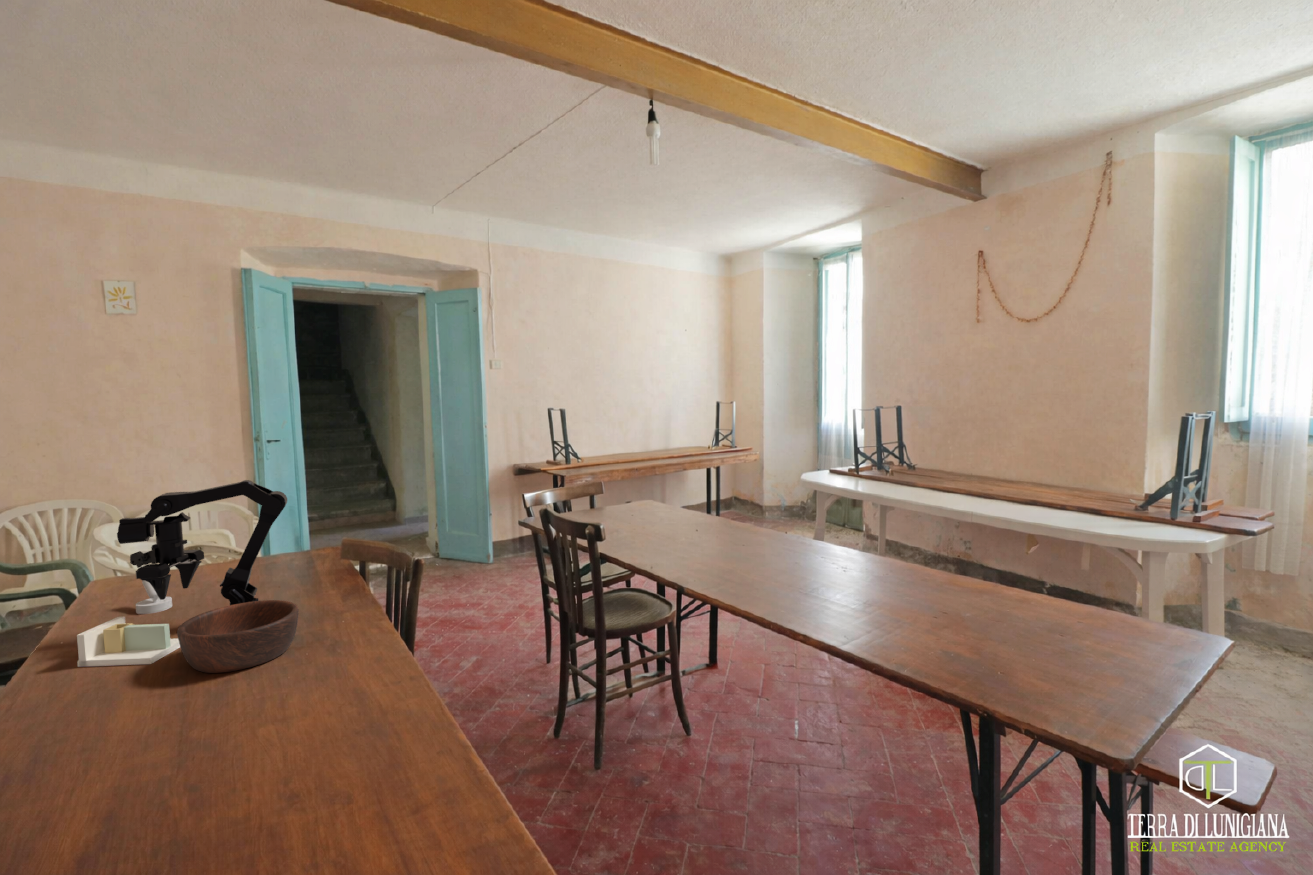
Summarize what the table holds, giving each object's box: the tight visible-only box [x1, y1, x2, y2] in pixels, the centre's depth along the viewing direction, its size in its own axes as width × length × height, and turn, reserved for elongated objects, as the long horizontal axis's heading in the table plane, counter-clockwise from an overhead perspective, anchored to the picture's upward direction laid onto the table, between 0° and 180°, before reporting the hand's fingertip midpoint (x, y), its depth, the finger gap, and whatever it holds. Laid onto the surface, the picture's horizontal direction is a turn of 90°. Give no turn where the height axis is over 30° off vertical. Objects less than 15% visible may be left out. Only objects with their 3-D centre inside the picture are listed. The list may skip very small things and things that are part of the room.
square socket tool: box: [103, 622, 171, 653], centre depth 150 cm, size 14×4×6 cm, turn 94°
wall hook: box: [135, 580, 173, 615], centre depth 183 cm, size 9×10×10 cm
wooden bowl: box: [176, 599, 299, 674], centre depth 149 cm, size 25×25×10 cm
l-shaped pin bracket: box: [76, 615, 181, 668], centre depth 150 cm, size 17×12×8 cm
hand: (174, 593), depth 164 cm, fingers open, 9 cm apart
